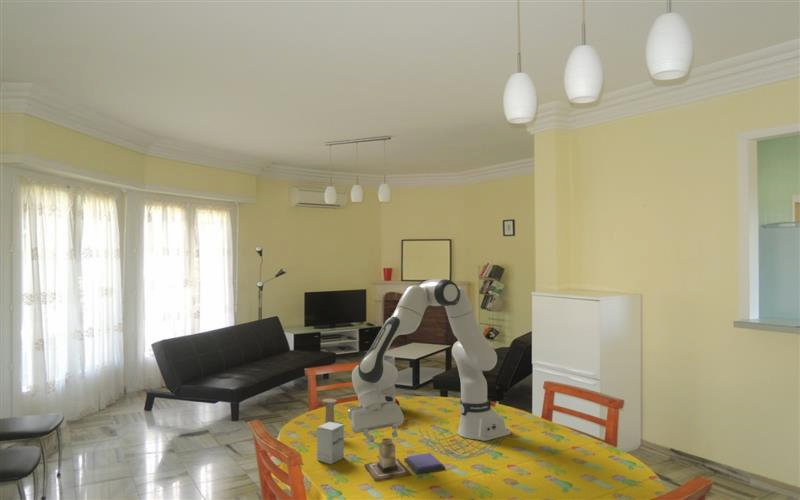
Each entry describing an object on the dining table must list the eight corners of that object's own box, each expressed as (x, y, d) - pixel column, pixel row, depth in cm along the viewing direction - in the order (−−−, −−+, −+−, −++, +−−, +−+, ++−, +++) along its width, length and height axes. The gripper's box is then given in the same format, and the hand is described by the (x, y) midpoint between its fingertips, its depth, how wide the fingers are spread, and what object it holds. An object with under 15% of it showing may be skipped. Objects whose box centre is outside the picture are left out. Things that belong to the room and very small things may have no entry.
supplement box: (331, 464, 186) (331, 430, 186) (316, 460, 190) (316, 426, 190) (344, 457, 192) (344, 424, 193) (329, 453, 196) (329, 420, 196)
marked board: (398, 460, 189) (398, 458, 189) (411, 475, 177) (411, 472, 177) (364, 466, 184) (364, 463, 184) (375, 481, 172) (375, 478, 172)
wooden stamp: (391, 464, 184) (391, 436, 184) (397, 470, 179) (397, 441, 179) (377, 466, 182) (376, 438, 182) (382, 472, 177) (382, 444, 177)
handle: (332, 439, 212) (331, 403, 212) (320, 436, 215) (320, 400, 215) (339, 435, 216) (339, 400, 216) (327, 432, 219) (327, 397, 219)
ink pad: (431, 456, 192) (431, 451, 192) (445, 469, 181) (445, 464, 181) (404, 461, 189) (404, 456, 189) (416, 474, 177) (416, 468, 177)
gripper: (348, 404, 185) (359, 440, 176) (398, 396, 194) (411, 429, 186) (344, 413, 189) (354, 448, 180) (393, 405, 198) (405, 438, 190)
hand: (383, 438), depth 183 cm, fingers open, 8 cm apart
